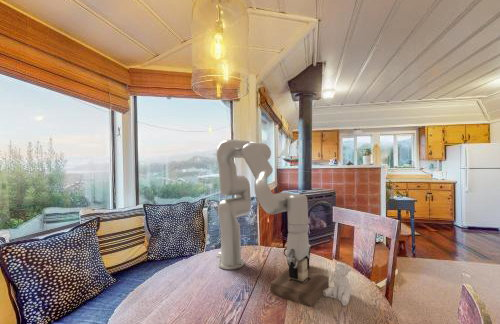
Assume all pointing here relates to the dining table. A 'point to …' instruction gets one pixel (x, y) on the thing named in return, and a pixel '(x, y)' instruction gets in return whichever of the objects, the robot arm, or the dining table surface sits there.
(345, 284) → the sitting furry creature
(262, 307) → the dining table surface
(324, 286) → the walnut board
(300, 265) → the birch peg
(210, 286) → the dining table surface
